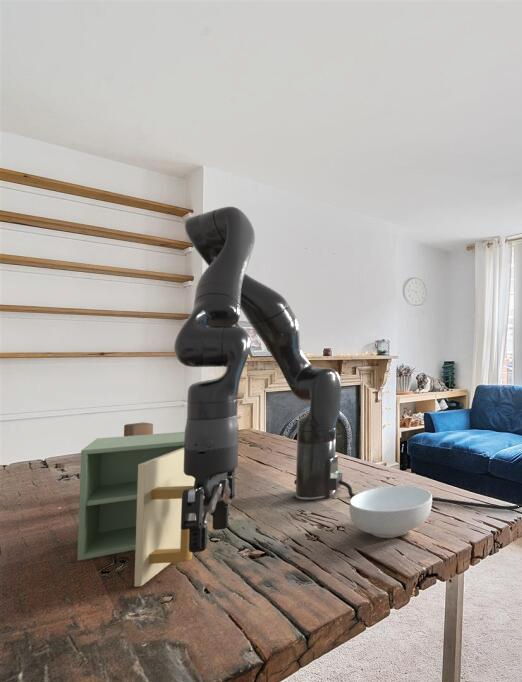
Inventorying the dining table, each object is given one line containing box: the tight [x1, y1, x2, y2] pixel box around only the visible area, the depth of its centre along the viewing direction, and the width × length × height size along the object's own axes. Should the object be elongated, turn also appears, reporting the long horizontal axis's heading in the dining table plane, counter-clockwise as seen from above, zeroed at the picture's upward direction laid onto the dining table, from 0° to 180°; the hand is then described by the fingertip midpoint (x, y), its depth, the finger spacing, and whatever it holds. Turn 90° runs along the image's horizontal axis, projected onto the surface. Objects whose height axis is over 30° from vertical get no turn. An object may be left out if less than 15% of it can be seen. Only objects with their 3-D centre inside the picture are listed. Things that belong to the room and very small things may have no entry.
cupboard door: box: [133, 448, 196, 588], centre depth 77 cm, size 7×18×19 cm, turn 9°
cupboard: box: [76, 431, 185, 561], centre depth 86 cm, size 12×18×20 cm
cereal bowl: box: [348, 485, 433, 539], centre depth 91 cm, size 17×17×7 cm
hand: (209, 539), depth 72 cm, fingers open, 8 cm apart
